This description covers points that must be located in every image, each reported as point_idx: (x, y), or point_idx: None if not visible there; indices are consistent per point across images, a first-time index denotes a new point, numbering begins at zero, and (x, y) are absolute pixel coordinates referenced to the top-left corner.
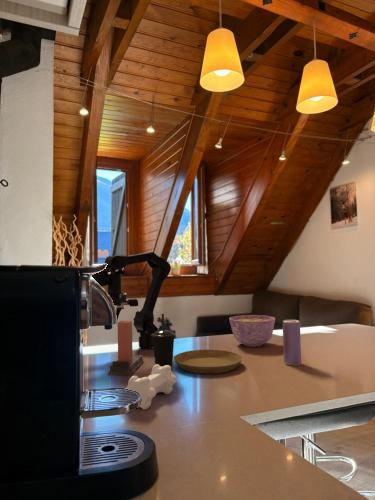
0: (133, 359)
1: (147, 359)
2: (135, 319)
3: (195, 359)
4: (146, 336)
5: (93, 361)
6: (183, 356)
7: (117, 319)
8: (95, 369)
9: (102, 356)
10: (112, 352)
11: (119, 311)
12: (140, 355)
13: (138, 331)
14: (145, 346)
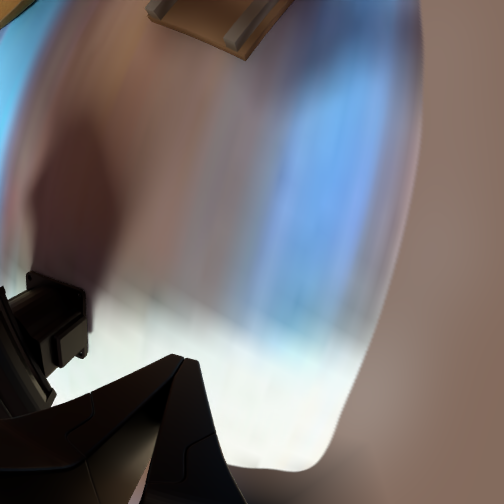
0: (190, 27)
1: (115, 61)
2: (5, 418)
3: (10, 7)
4: (21, 310)
5: (391, 163)
6: (23, 5)
7: (125, 376)
8: (398, 17)
9: (318, 252)
10: (238, 317)
11: (7, 428)
12: (152, 6)
13: (47, 389)
14: (59, 294)
